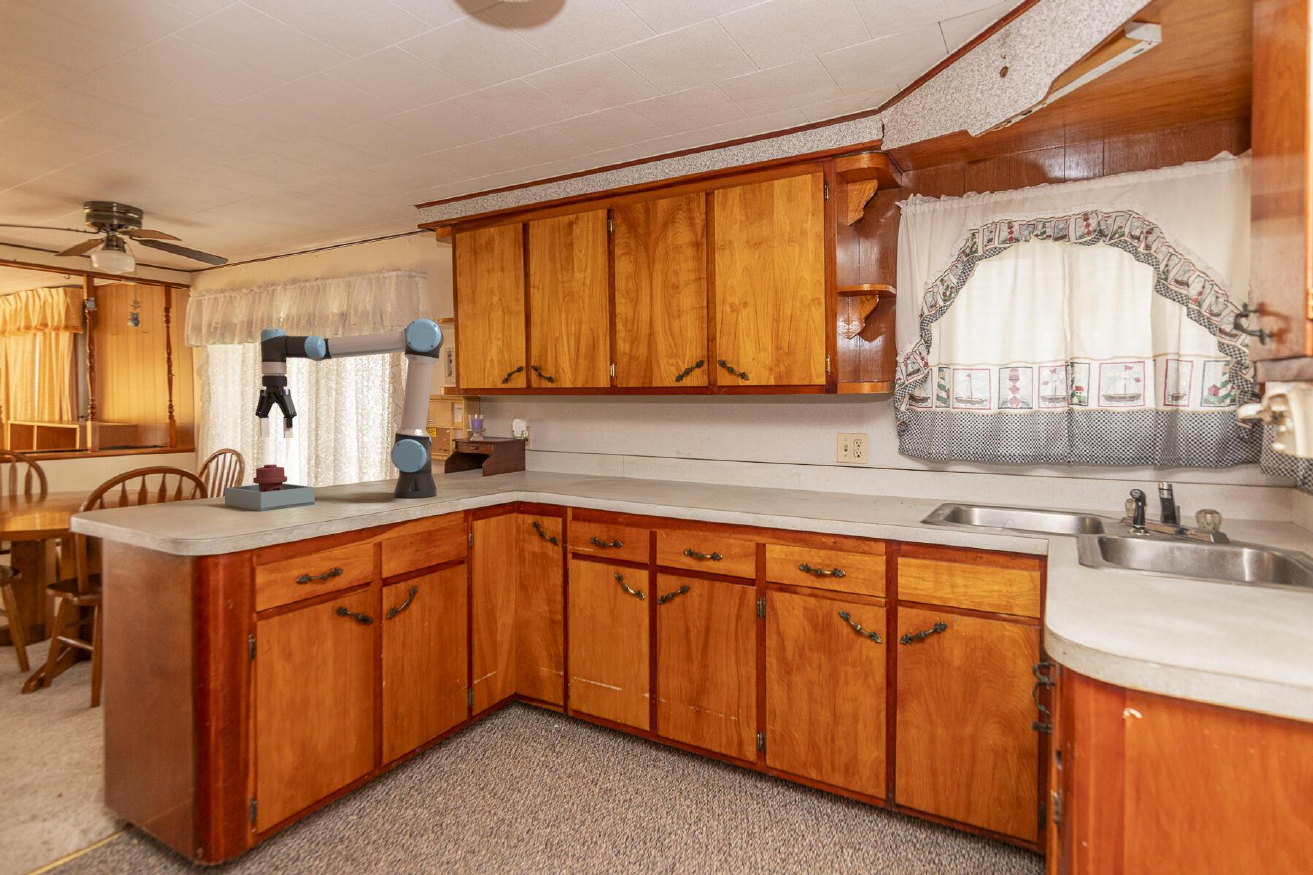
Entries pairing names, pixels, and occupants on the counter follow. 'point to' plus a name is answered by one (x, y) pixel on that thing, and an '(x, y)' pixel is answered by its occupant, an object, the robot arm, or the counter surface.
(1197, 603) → the counter surface
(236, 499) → the tote
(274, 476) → the mechanical component
